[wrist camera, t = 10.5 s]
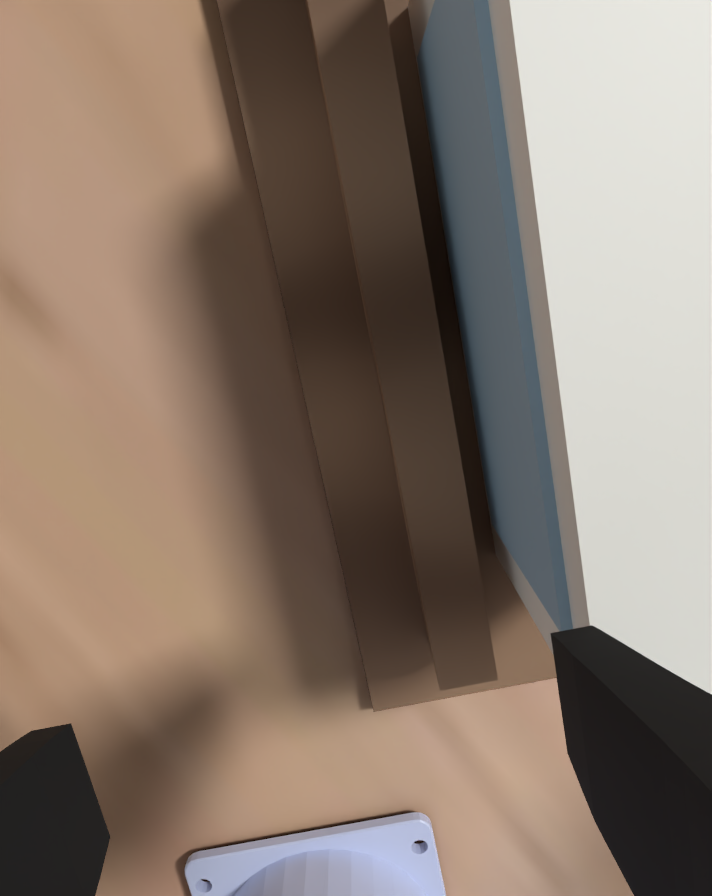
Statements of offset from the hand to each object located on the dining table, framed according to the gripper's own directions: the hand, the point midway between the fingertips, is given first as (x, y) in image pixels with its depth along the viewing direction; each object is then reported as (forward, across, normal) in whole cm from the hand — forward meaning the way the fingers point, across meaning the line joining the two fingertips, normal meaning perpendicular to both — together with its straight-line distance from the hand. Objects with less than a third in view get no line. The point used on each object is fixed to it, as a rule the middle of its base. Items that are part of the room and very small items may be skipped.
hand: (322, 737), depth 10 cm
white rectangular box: (+9, -6, -5) cm, 12 cm away
